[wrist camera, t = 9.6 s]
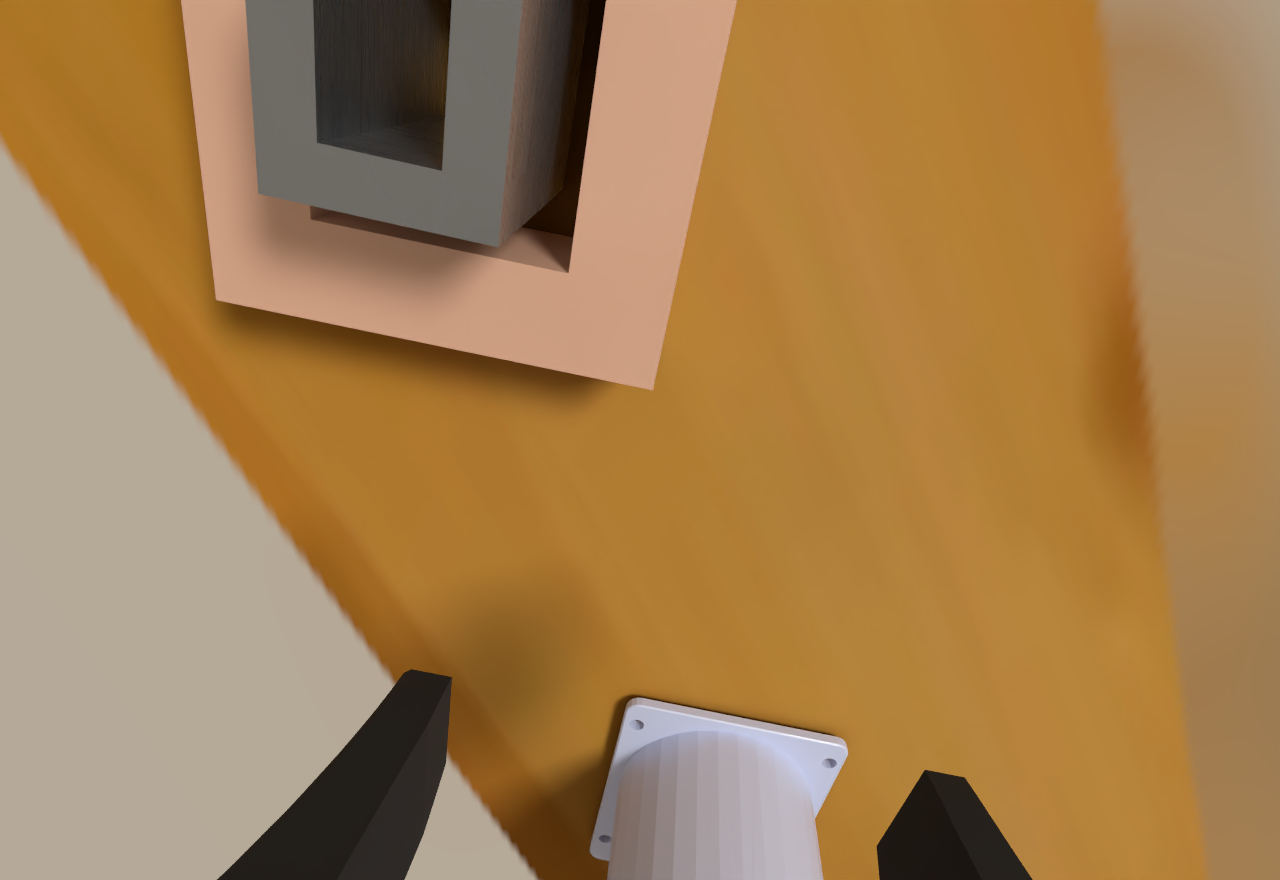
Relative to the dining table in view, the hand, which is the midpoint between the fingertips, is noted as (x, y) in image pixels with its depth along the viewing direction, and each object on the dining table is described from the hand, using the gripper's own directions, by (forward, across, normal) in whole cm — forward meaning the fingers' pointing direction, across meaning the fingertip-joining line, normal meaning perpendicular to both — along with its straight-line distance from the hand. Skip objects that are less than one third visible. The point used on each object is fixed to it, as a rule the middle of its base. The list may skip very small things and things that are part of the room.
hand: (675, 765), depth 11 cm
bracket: (+11, +6, -8) cm, 15 cm away
